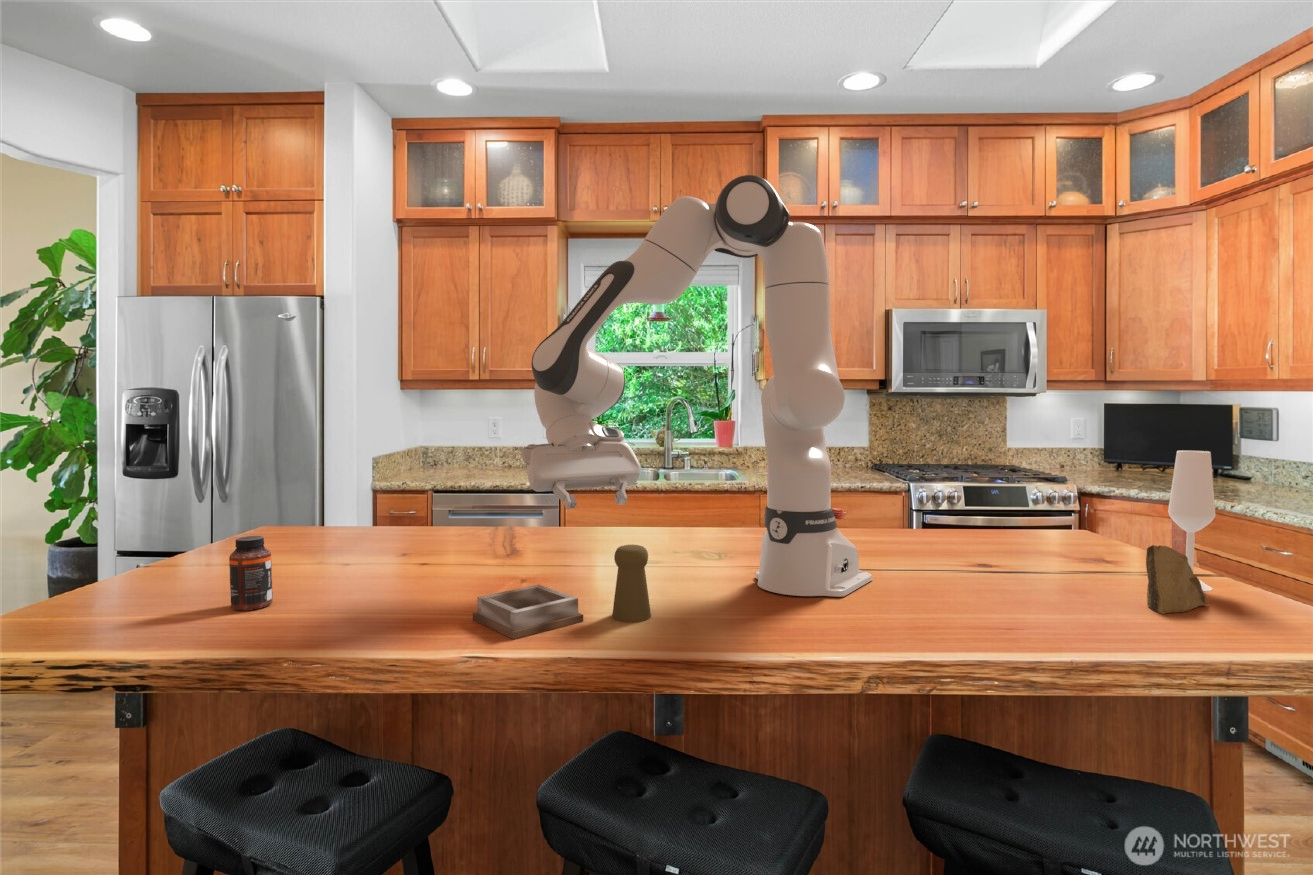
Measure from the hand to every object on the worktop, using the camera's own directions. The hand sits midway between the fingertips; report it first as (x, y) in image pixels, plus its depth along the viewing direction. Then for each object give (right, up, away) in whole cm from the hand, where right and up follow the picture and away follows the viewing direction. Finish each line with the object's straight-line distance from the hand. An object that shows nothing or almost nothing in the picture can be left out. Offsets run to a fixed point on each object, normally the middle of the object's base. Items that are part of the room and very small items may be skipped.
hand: (597, 504), depth 119 cm
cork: (+6, -17, -10) cm, 20 cm away
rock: (+93, -16, -6) cm, 95 cm away
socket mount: (-10, -16, -12) cm, 22 cm away
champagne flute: (+105, -15, +7) cm, 106 cm away
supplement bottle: (-56, -16, -4) cm, 58 cm away
